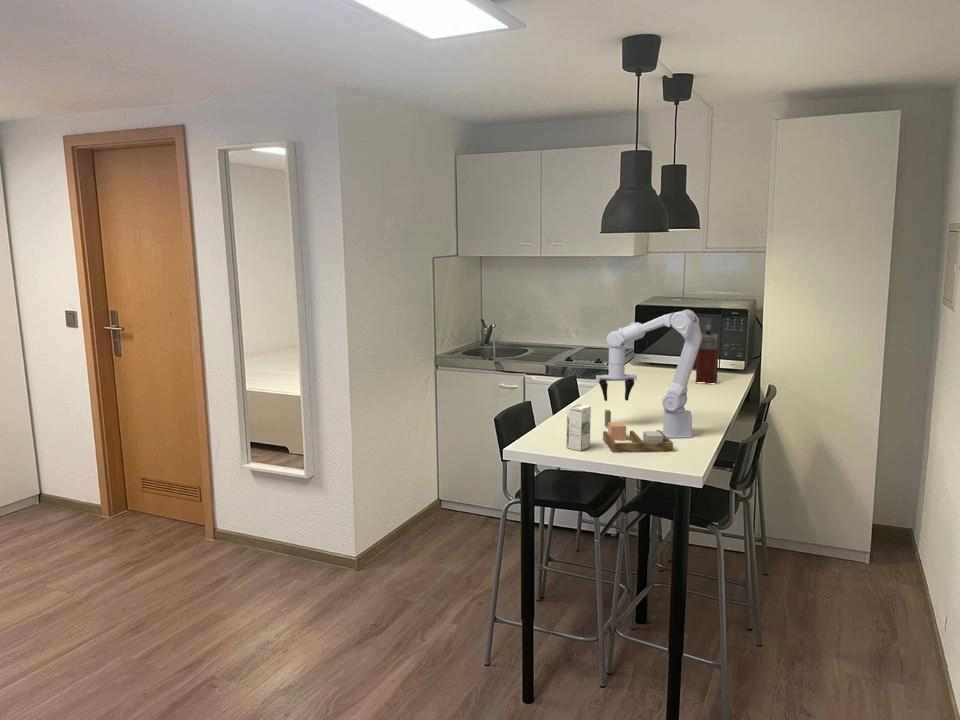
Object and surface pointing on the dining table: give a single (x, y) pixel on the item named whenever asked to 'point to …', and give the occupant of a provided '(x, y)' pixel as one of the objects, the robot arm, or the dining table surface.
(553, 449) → the dining table surface
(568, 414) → the syrup box
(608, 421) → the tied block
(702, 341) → the red liquid bottle
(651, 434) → the grey block
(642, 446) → the wooden divided tray
